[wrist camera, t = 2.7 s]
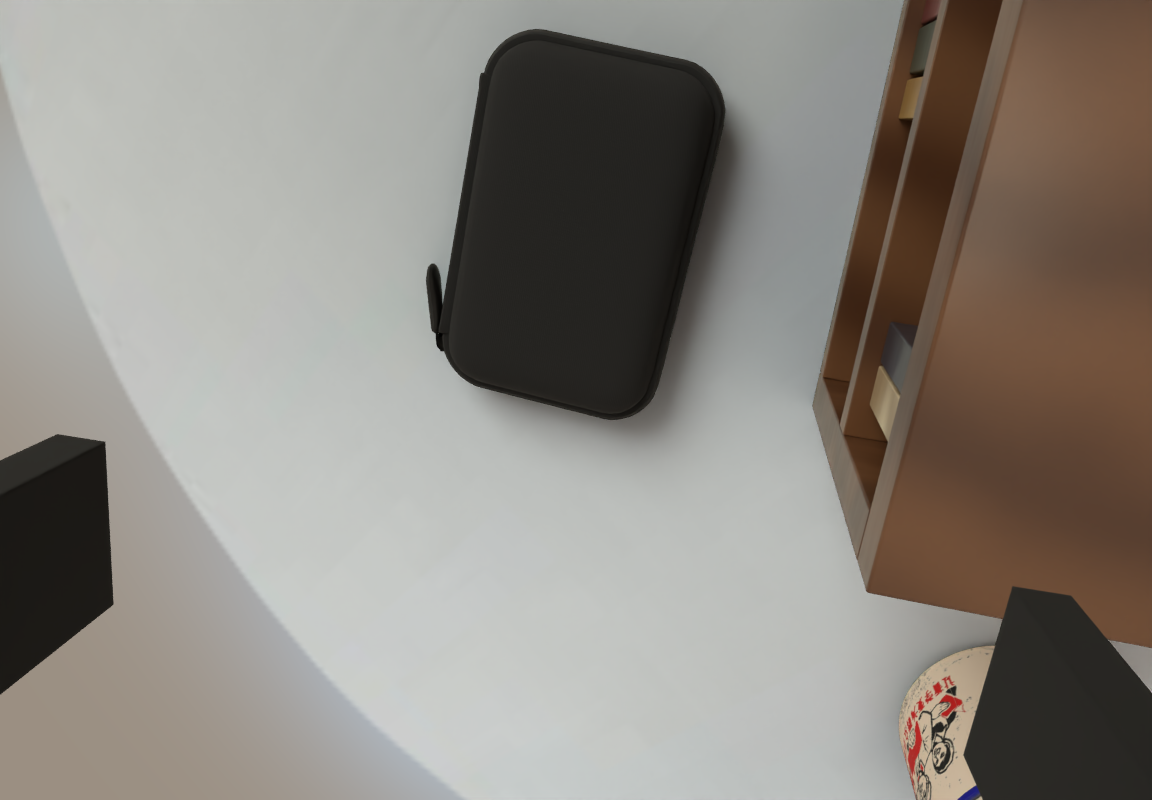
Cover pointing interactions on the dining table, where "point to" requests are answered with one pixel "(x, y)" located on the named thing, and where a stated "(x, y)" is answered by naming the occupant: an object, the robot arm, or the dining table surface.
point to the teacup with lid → (943, 725)
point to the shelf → (1002, 314)
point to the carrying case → (576, 221)
